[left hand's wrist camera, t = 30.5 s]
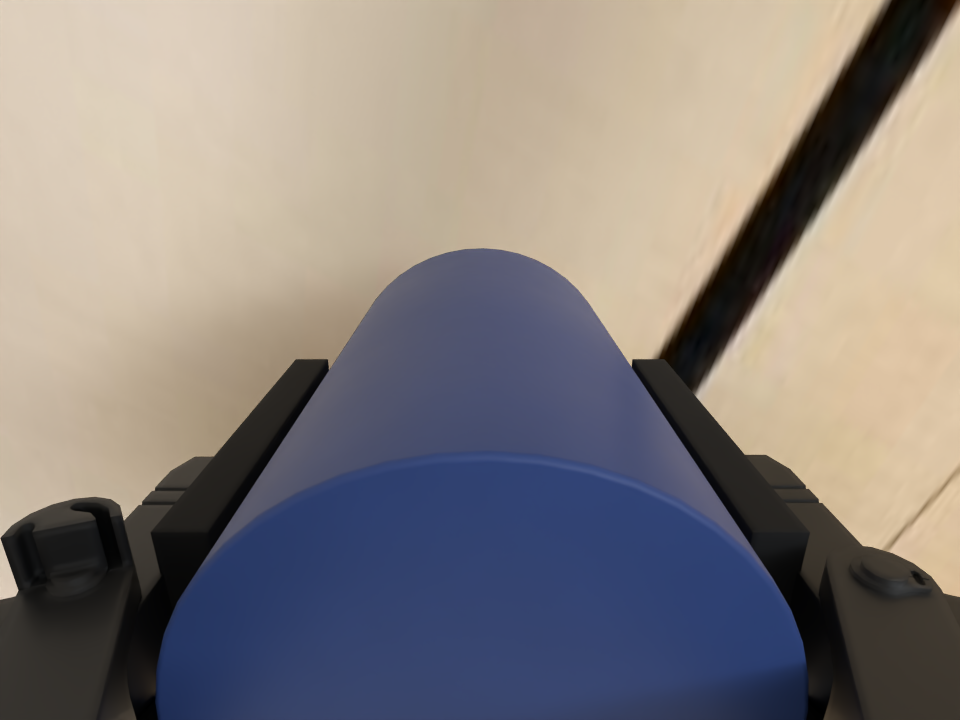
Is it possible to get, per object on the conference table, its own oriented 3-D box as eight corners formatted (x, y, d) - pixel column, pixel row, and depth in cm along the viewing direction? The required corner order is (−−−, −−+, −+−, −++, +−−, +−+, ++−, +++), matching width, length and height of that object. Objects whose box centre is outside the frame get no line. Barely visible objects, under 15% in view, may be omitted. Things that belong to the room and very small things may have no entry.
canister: (648, 419, 17) (892, 823, 7) (435, 520, 18) (382, 986, 8) (536, 196, 15) (654, 315, 5) (302, 328, 16) (3, 643, 6)
